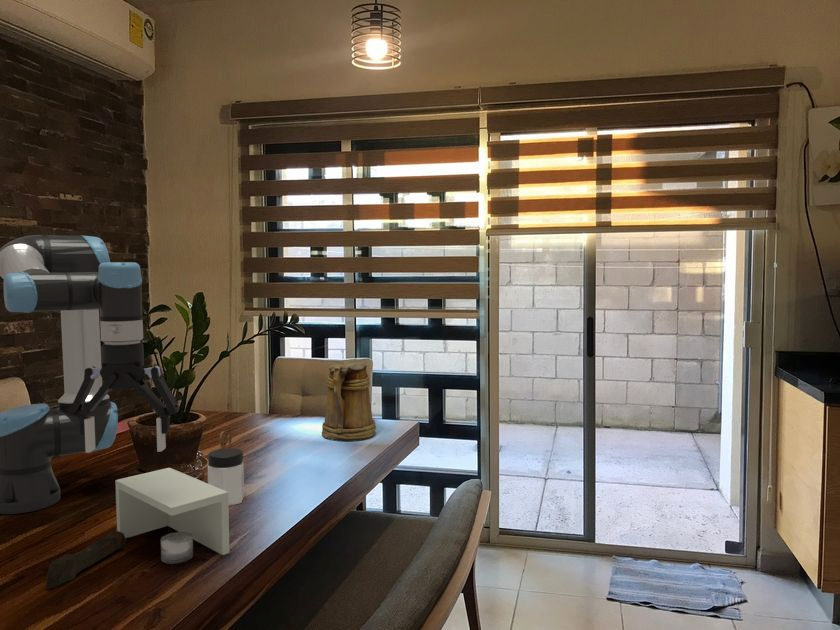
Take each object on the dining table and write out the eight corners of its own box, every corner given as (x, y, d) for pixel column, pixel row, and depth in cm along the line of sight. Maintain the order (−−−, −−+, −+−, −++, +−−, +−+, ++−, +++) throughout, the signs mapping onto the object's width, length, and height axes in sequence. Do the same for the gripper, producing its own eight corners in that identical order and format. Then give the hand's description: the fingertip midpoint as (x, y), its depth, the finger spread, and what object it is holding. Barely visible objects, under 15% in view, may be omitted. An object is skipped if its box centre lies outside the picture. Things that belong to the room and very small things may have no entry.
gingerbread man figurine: (222, 479, 184) (221, 435, 183) (209, 478, 185) (208, 435, 184) (238, 470, 192) (237, 427, 192) (225, 469, 193) (224, 427, 192)
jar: (252, 498, 170) (251, 450, 169) (230, 508, 162) (229, 459, 161) (223, 493, 173) (222, 446, 172) (200, 503, 166) (199, 454, 165)
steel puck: (155, 557, 136) (154, 538, 135) (183, 548, 140) (183, 529, 140) (170, 566, 132) (169, 546, 131) (198, 556, 136) (198, 537, 136)
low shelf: (117, 537, 145) (115, 480, 144) (170, 522, 154) (169, 467, 153) (173, 572, 129) (171, 508, 128) (229, 552, 138) (228, 492, 137)
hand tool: (110, 547, 141) (109, 525, 140) (127, 549, 140) (126, 527, 139) (34, 590, 123) (33, 565, 122) (52, 593, 122) (51, 568, 121)
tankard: (380, 428, 240) (380, 358, 238) (365, 446, 216) (365, 368, 214) (330, 427, 242) (329, 357, 240) (310, 444, 219) (309, 367, 217)
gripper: (46, 345, 128) (51, 456, 130) (182, 343, 129) (185, 454, 131) (65, 340, 135) (69, 446, 137) (193, 339, 137) (196, 444, 138)
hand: (126, 450), depth 134 cm, fingers open, 13 cm apart
